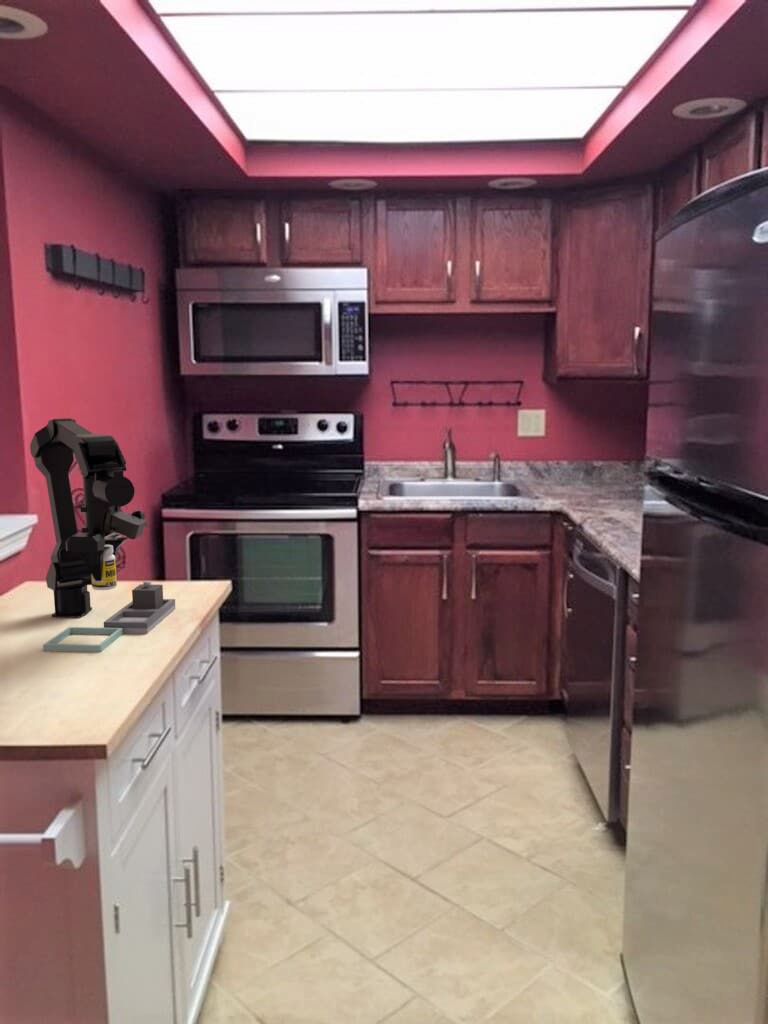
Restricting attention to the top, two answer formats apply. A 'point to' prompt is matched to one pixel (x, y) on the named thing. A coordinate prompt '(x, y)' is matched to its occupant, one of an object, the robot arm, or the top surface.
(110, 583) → the supplement bottle
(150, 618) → the grey socket tray
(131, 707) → the top surface
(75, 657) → the top surface
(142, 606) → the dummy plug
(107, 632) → the green square frame
